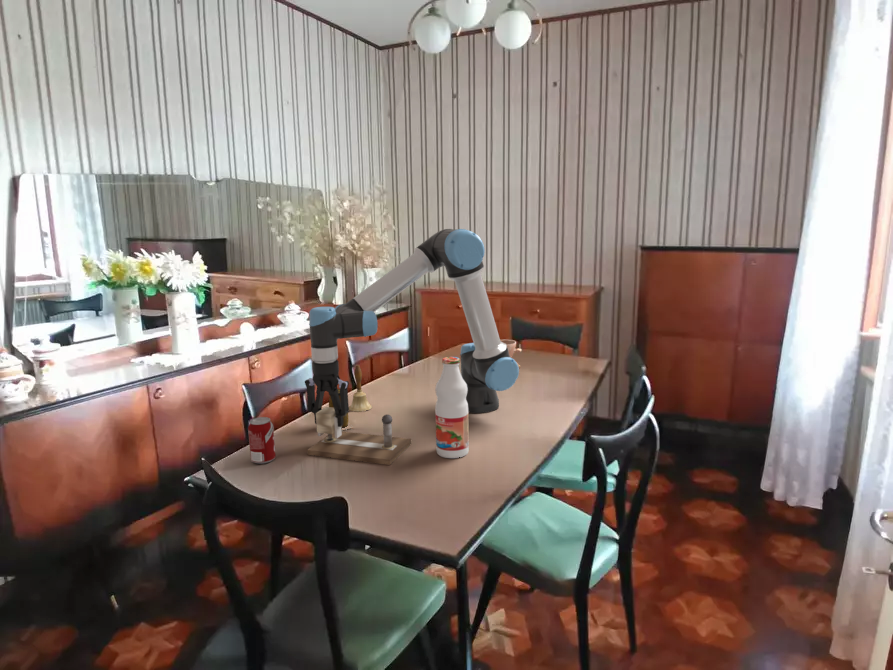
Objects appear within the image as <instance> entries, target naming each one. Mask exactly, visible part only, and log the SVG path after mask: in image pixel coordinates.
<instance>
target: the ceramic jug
mask: <svg viewBox="0 0 893 670" xmlns="http://www.w3.org/2000/svg"><path fill="white" fill-rule="evenodd" d="M500 341H501V342H503V343H505V344H506V345H507V348H508V352H509V355H510V358H512V359H513V356H514V354H516V353H518V352H519V353H520V354H521V352H522V348H516V347H517V341H516V340H513V339H500ZM516 363H517V364H518V367H519V370H520V369H521V365H520V364H519V363H518V362H517V361H516Z"/></svg>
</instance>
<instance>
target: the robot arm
mask: <svg viewBox="0 0 893 670" xmlns="http://www.w3.org/2000/svg"><path fill="white" fill-rule="evenodd" d="M485 253H486V252H485V245H484V242H483V241H482V239H481V236H479V235H478V234H477V233H475V232H473V231H471V230H468V229H465V228H459V229H455V228H454V229H452V228H445V229H442V230H439V231H437V232H435V233H434V234H432V235H431V236H430V237H428V238H427V239H426V240H424V241H423V242H422V243H420V244H419V245H418V246H416V248H414V251H413V253H412V254H411V255H410V256H408V257H407V258H406V259H404V260H403V261H402V262H400V263H399V264H397V265H395V267H394V268H392V269H390V270H389V271H388V272H387V273H385V274H384V275H383V276H381V277H380V278H378V279H377V280H376V281H375V282H373V283H372V284H369V286H368V287H366V288H365V289H363V290H362V291H361V292H359V293H358V294H357V295H356V296H354V297H353V298H351V299H350V300H349V301H347V302H345V303H342V304H338V305H337V306H335V307H333V306H317V307H313V308H311V309H310V310H309V317H308V318H309V320H308V321H309V323H308V325H309V335H310V336H309V337H310V348H311V350H310V351H311V361H312V362H311V365H312V374H313V376H312V378H311V377H309V378H308V379H306V380H304V385H305V387H306V397H307V399H306V400H307V411H308V413H312V414H313V415H314V424H315V425H316V413H317V412H318V411H320V410H322V409H323V408H322V407H323V401H324V396H325V392H327V393H328V396H331V400H332V403H333V406H334V410H335V413H336V416H335V417H334V427H335V438H338V437H340V436H341V435H342V431H341V426H343V415H345V414H347V413H348V414H349V413H350V410H349V406H350V404H349V393H348V391H349V390H348V388H349V384H350V383H349V381H348V380H342V379H341V377H340V375H339V372H340V366H339V365H340V363H339V360H338V358H339V349H338V340H339V339H341V340H343V339H349V338H351V339H352V338H362V337H364V338H365V337H369V336H374V335H376V334H377V332H378V327H379V326H378V317H377V314H376V311H378V310H379V309H381V308H382V307H383V306H385V304H387V303H389V302H391V300H392V299H394V298H395V297H397V296H398V295H400V293H402V292H403V291H404V290H406V289H407V288H408V287H410V286H411V285H412V284H414V283H415V282H416V281H418V280H420V279H421V278H422V277H424V275H426V274H428V273H434V272H435V271H436V270H438V269H440V268H443V267H445V271H446V274H447V277H448V279H450V280H452V281H453V282H454V284H455V287H456V291H457V293H458V296H459V300H460V303H461V306H462V309H463V313H464V316H465V319H466V322H467V326H468V329H469V332H470V335H471V339H472V341H473V342H469V343H464V344H462V345H461V347H460V355H459V356H460V373H461V376H462V378H463V380H464V381H465V382H466V384H467V388H468V391H467V396H466V401H467V403H468V413H474V414H475V413H478V414H480V413H483V414H484V413H489V412H493V411H495V410H497V409H499V406H500V399H499V397H498V394H497V392H502V391H507V390H509V389H510V388H512V387H513V386H514V385H515V383H516V381H517V379H518V378H519V374H520V369H519V367H518V364H519V363H518V362H517V361H516V359H514V358H513V357H512V358H510V355H509V352H508V348H507V345H506V344H505V343H503V342H501V341H500V340H501V339H500V335H499V332H498V327H497V324H496V321H495V318H494V314H493V310H492V308H491V307H492V306H491V303H490V300H489V296H488V294H487V290H486V287H485V284H484V280H483V277H482V272H483V269H484V267H485V265H484V262H483V260H484V259H483V258H484V256H485ZM516 362H517V363H518V364H517V363H516ZM338 385H339V386H338ZM315 386H316V387H315ZM338 389H340V398H339V395H338ZM315 390H316V391H315ZM340 400H341V402H340ZM324 434H325V433H317V436H318V437H322V436H323V435H324Z"/></svg>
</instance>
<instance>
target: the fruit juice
mask: <svg viewBox="0 0 893 670" xmlns="http://www.w3.org/2000/svg"><path fill="white" fill-rule="evenodd" d="M441 363H442V366H443V367H442V372H441V375H440V378H439V379H438V380H437V383H436V385H435V390H434V391H435V395H436V399H437V400H436V403H435V410H434V411H435V412H434V413H435V447H436V453H437V455H439V456H440V457H441V458H445V459H459V457H460V458H462V457H465V456H467V455H468V454H469V450H470V448H469V447H470V444H469V443H470V441H469V439H470V438H469V436H470V435H469V427H470V425H469V412H468V403H467V401H466V396H467V391H468V388H467V384H466V382H465V381H464V380H463V378H462V376H461V369H460V367H459V366H460V365H461V358H459V357H457V356H446V357H443V358H442V359H441Z"/></svg>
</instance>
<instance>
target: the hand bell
mask: <svg viewBox="0 0 893 670" xmlns="http://www.w3.org/2000/svg"><path fill="white" fill-rule="evenodd" d="M353 374H354V375H353V376H354V380H355V382H356V392H355V393H353V396H352V401H351V404H349V412H353V411H354V413H363V412H362V411H364V412H366V410H368V411H371V410H372V409H373V407H372V404H370V402H369V401H368V398H367V394H366V392H364V391H363V389H362V384H361V383H362V377H363V372H362V368H361V366H360V364H356V365H355V369H354V373H353Z"/></svg>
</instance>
